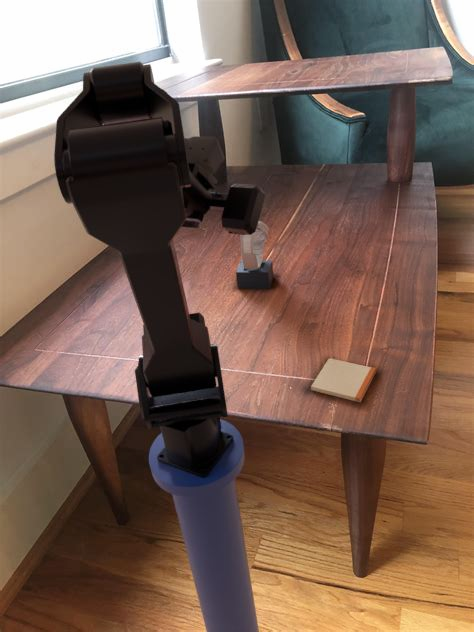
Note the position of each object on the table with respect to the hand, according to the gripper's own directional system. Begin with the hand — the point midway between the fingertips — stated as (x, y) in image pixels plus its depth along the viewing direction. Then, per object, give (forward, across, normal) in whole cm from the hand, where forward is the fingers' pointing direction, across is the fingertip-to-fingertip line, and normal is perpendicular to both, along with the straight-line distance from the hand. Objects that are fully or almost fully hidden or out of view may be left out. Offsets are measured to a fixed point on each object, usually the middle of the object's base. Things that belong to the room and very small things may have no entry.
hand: (223, 227), depth 82 cm
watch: (+15, 0, +4) cm, 16 cm away
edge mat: (+1, -23, +18) cm, 29 cm away
